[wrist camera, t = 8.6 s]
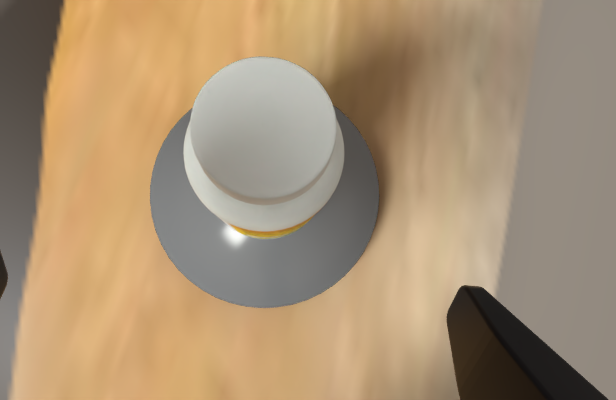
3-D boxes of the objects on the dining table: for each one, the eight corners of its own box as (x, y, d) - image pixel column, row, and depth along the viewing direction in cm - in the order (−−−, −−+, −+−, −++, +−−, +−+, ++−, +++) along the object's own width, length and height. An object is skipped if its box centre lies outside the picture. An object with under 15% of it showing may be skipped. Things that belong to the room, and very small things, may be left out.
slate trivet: (373, 308, 22) (377, 311, 21) (146, 302, 21) (139, 304, 20) (375, 96, 23) (380, 89, 22) (164, 83, 23) (159, 75, 22)
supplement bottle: (188, 194, 21) (116, 138, 11) (258, 109, 22) (245, -7, 12) (277, 263, 21) (280, 265, 11) (345, 176, 22) (399, 109, 12)
